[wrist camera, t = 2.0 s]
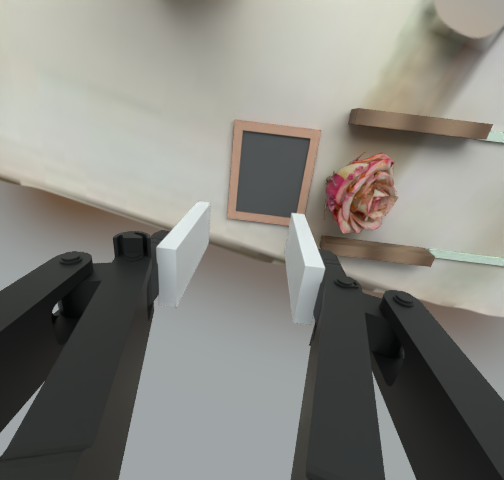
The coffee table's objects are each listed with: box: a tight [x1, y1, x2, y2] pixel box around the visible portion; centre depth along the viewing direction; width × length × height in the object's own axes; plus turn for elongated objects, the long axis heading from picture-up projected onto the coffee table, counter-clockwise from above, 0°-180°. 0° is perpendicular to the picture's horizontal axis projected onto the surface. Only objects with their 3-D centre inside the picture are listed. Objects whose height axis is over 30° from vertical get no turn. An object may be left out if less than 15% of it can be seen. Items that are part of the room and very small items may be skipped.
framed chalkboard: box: [227, 120, 321, 226], centre depth 33 cm, size 10×12×1 cm
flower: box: [324, 152, 398, 234], centre depth 31 cm, size 10×9×8 cm
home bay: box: [428, 131, 504, 266], centre depth 33 cm, size 12×16×1 cm
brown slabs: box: [320, 108, 493, 267], centre depth 32 cm, size 14×17×2 cm
